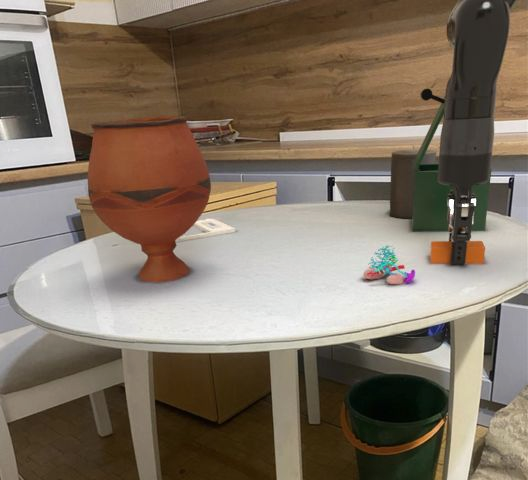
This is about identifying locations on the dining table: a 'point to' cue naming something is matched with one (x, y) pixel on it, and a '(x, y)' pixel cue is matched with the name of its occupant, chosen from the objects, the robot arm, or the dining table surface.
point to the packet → (443, 252)
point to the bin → (441, 201)
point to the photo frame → (208, 229)
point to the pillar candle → (405, 180)
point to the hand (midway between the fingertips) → (456, 259)
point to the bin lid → (426, 95)
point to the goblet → (149, 187)
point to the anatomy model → (388, 269)
